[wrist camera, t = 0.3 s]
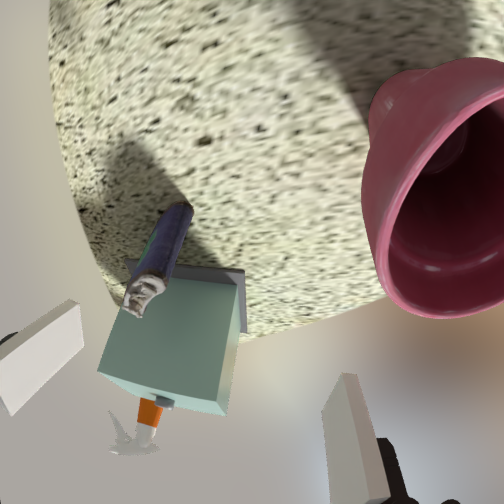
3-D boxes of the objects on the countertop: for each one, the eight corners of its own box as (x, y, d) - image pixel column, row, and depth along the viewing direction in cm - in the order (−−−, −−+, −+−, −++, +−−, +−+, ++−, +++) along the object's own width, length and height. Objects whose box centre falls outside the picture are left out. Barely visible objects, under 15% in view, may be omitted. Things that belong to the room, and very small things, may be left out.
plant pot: (412, 1, 9) (548, 13, 1) (506, 130, 14) (592, 229, 5) (296, 127, 19) (299, 253, 10) (408, 218, 23) (446, 339, 15)
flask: (165, 255, 32) (135, 334, 25) (144, 243, 31) (109, 321, 24) (200, 208, 26) (164, 303, 19) (174, 193, 25) (128, 284, 18)
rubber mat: (125, 258, 33) (124, 260, 33) (244, 271, 32) (244, 273, 32) (157, 318, 45) (156, 320, 45) (247, 331, 44) (246, 333, 44)
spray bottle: (140, 314, 46) (101, 451, 28) (192, 337, 49) (164, 469, 32) (133, 325, 50) (98, 445, 33) (179, 345, 54) (153, 462, 36)
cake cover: (135, 272, 35) (94, 380, 24) (237, 285, 34) (214, 412, 23) (157, 314, 43) (131, 401, 33) (240, 326, 42) (224, 423, 31)
